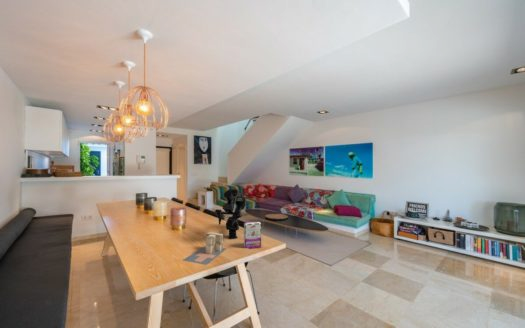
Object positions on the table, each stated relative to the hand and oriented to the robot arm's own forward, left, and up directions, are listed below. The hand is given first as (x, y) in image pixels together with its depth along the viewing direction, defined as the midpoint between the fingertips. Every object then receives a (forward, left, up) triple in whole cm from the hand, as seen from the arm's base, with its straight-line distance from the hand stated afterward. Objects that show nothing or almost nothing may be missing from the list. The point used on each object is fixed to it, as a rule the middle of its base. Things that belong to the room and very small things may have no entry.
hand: (225, 224), depth 148 cm
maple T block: (+10, -10, -13) cm, 19 cm away
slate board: (+13, -14, -14) cm, 24 cm away
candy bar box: (+11, +16, -14) cm, 24 cm away
